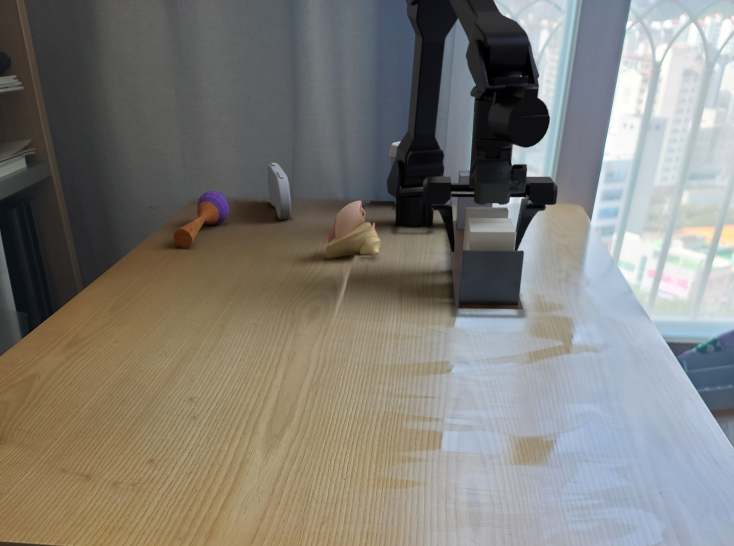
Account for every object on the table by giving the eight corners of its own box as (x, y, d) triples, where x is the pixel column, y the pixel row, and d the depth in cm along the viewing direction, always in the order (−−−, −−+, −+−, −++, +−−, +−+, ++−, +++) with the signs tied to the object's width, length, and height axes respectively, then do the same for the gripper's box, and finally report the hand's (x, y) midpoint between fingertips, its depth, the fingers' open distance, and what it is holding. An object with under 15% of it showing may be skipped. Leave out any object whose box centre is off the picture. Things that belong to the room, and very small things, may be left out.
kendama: (160, 224, 128) (198, 189, 143) (173, 258, 131) (209, 221, 147) (192, 218, 126) (227, 184, 142) (204, 252, 130) (237, 215, 145)
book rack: (455, 315, 101) (458, 255, 96) (447, 226, 140) (449, 180, 136) (522, 316, 100) (529, 255, 95) (495, 226, 140) (499, 180, 135)
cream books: (465, 298, 103) (470, 231, 98) (463, 282, 109) (467, 217, 104) (509, 299, 103) (516, 231, 98) (504, 282, 109) (511, 218, 104)
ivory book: (462, 273, 113) (466, 211, 108) (461, 268, 115) (465, 207, 110) (502, 273, 112) (508, 211, 107) (501, 269, 114) (507, 207, 109)
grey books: (456, 229, 134) (460, 175, 129) (456, 222, 138) (459, 170, 133) (490, 229, 134) (494, 175, 129) (488, 222, 138) (492, 170, 133)
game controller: (293, 223, 144) (290, 176, 139) (281, 223, 143) (278, 177, 139) (279, 201, 160) (277, 159, 155) (269, 201, 159) (266, 159, 155)
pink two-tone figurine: (395, 256, 126) (389, 225, 117) (346, 290, 126) (337, 262, 117) (365, 217, 128) (356, 184, 119) (317, 251, 128) (305, 220, 119)
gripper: (424, 146, 97) (420, 267, 106) (570, 146, 96) (554, 268, 104) (424, 133, 106) (421, 245, 115) (558, 133, 105) (544, 246, 114)
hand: (483, 251), depth 112 cm, fingers open, 9 cm apart
